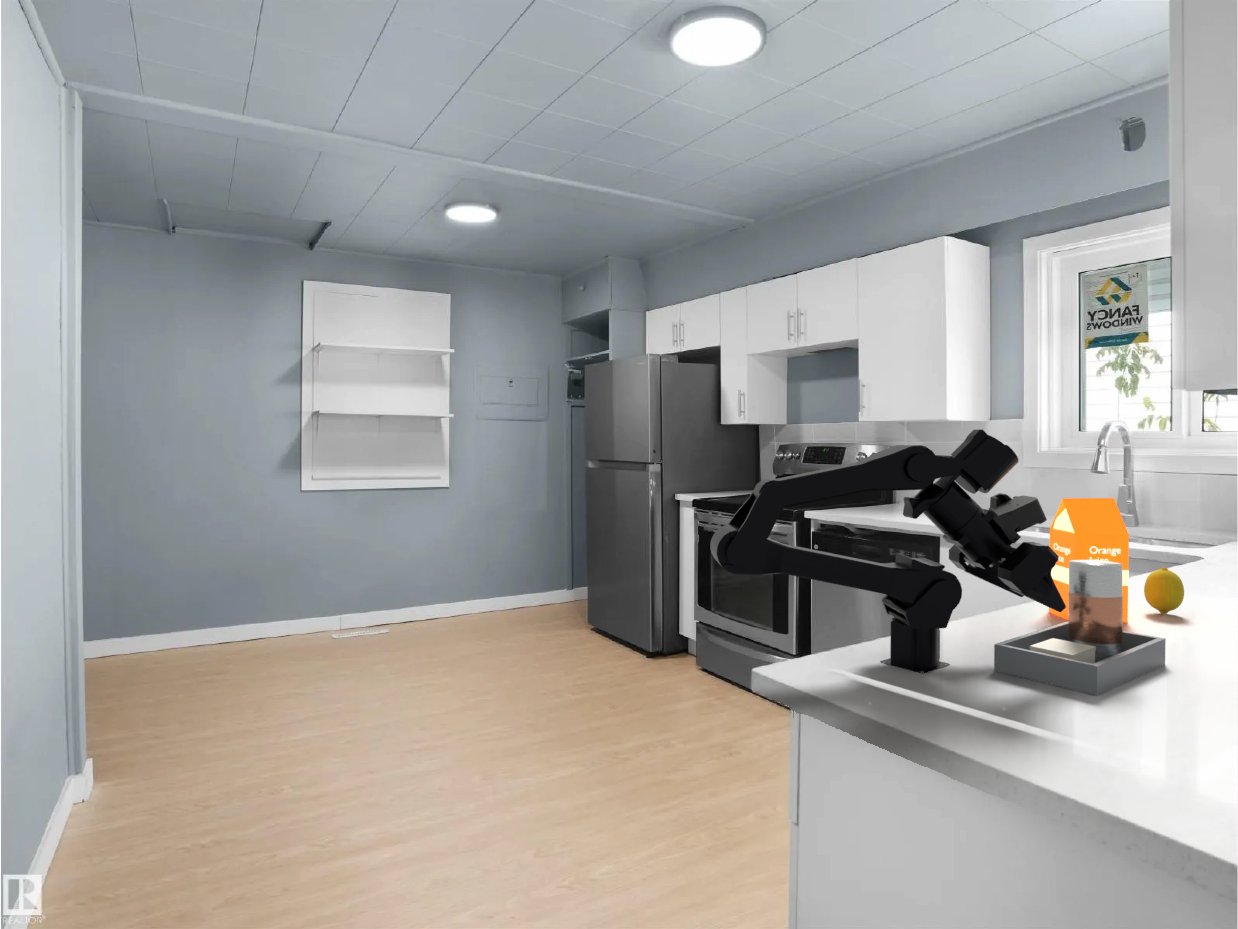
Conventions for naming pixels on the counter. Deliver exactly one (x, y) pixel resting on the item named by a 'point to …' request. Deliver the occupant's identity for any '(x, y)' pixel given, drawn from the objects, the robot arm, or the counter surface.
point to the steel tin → (1096, 606)
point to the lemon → (1164, 590)
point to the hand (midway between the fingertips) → (1042, 601)
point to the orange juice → (1088, 541)
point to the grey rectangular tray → (1074, 674)
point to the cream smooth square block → (1066, 650)
